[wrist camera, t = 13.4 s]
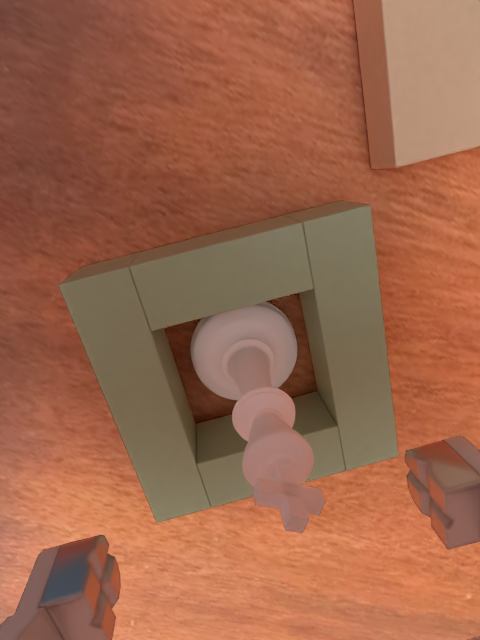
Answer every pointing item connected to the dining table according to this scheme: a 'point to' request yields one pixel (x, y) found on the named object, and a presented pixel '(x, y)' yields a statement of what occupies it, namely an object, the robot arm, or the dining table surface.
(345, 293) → the dock
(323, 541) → the dining table surface
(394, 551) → the dining table surface
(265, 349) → the chess piece
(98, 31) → the dining table surface
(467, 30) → the panel
